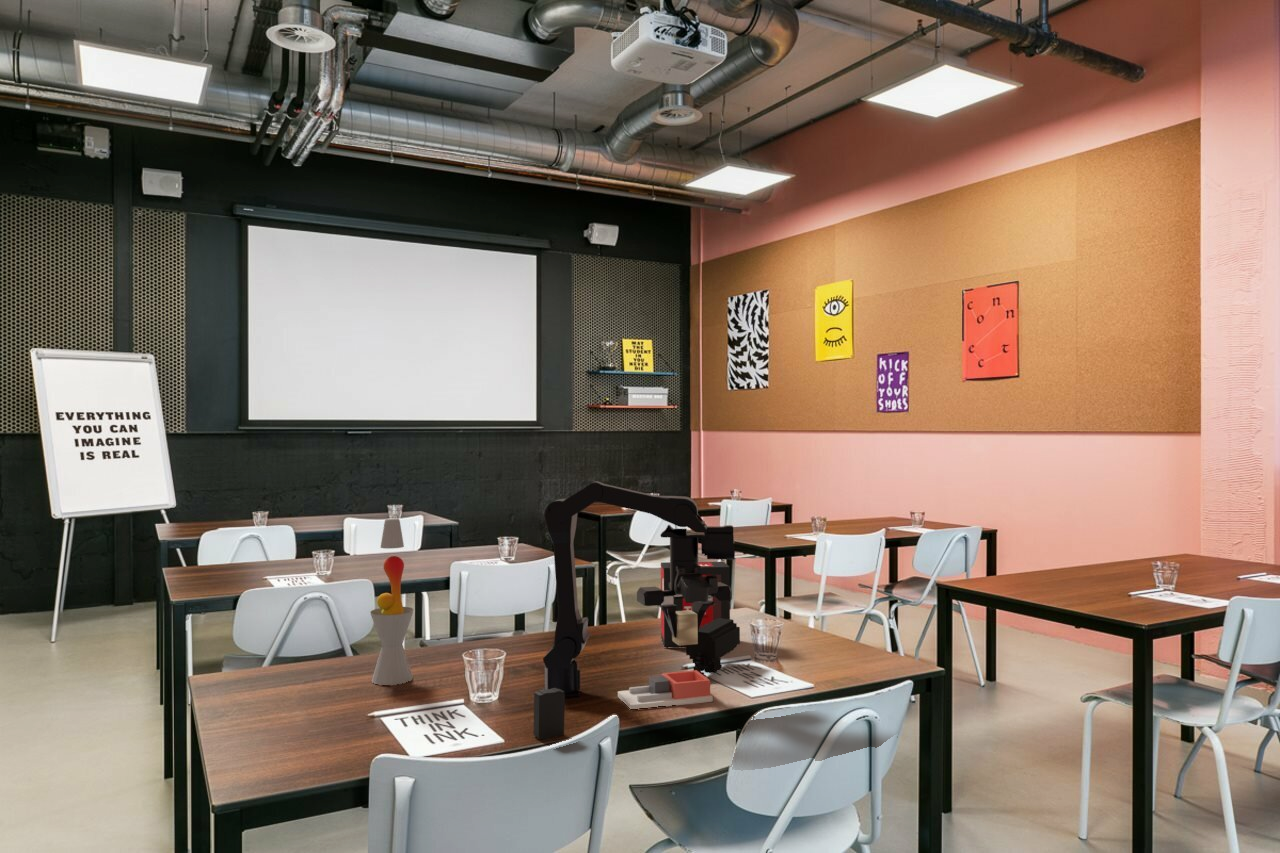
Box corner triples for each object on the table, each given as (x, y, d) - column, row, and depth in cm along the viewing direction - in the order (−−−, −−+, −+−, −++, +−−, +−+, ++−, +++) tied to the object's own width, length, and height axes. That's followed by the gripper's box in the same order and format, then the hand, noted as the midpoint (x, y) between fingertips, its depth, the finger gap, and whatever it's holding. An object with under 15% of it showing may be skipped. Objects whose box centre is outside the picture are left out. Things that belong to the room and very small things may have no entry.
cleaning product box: (664, 648, 205) (663, 567, 205) (661, 639, 214) (660, 562, 214) (730, 647, 206) (729, 566, 206) (724, 638, 215) (723, 561, 215)
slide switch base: (630, 710, 158) (630, 689, 158) (617, 696, 167) (617, 676, 167) (712, 701, 163) (712, 681, 163) (696, 688, 172) (696, 669, 172)
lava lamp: (404, 671, 185) (404, 515, 186) (420, 680, 178) (419, 518, 179) (364, 678, 180) (364, 518, 180) (378, 688, 173) (378, 521, 173)
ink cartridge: (558, 731, 147) (559, 686, 147) (564, 735, 145) (565, 690, 145) (533, 736, 144) (533, 690, 145) (538, 740, 142) (539, 694, 143)
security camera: (680, 679, 178) (680, 633, 178) (713, 659, 194) (713, 616, 195) (709, 683, 175) (709, 636, 175) (741, 662, 191) (740, 619, 191)
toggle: (655, 697, 162) (655, 682, 162) (649, 691, 166) (648, 676, 166) (669, 696, 163) (669, 681, 163) (663, 690, 167) (662, 675, 167)
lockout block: (679, 645, 164) (678, 615, 164) (672, 640, 168) (671, 611, 168) (697, 643, 165) (697, 614, 165) (690, 639, 169) (690, 610, 169)
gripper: (653, 567, 156) (653, 650, 156) (743, 562, 162) (743, 641, 162) (635, 559, 167) (636, 636, 167) (720, 554, 173) (721, 629, 172)
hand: (684, 636), depth 167 cm, fingers closed on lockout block, 4 cm apart
